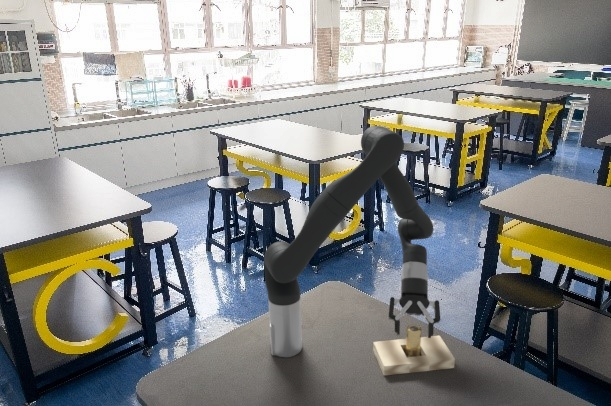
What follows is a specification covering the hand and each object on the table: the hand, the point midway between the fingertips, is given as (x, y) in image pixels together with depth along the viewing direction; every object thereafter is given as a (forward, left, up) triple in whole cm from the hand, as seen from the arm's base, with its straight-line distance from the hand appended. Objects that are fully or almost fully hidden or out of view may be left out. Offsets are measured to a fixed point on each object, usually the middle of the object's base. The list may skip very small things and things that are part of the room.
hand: (413, 336), depth 136 cm
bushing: (0, 0, -8) cm, 8 cm away
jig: (0, 0, -8) cm, 8 cm away
